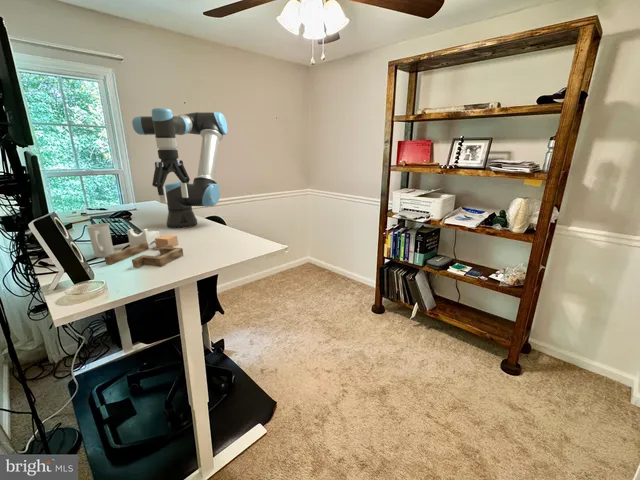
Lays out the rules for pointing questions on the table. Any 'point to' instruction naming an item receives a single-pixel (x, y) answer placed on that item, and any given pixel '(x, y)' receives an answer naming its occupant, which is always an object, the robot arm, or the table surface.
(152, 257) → the brown wooden puzzle piece
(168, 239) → the block
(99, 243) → the mug
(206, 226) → the table surface
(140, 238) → the bracket
